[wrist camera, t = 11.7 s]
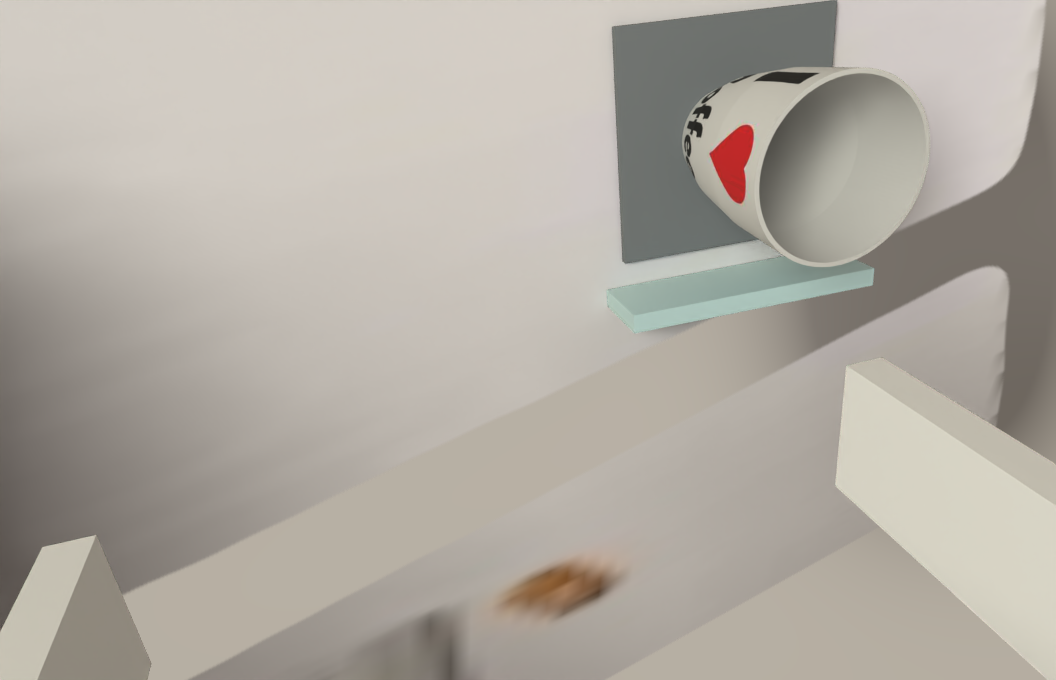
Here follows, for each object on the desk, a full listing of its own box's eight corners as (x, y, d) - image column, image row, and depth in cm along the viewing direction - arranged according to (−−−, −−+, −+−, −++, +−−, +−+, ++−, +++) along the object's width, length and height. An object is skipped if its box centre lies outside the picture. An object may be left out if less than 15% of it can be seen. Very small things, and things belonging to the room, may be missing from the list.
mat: (622, 261, 42) (625, 263, 41) (612, 26, 37) (615, 27, 36) (816, 225, 44) (820, 227, 44) (832, 0, 39) (837, 0, 38)
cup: (716, 21, 37) (841, 24, 28) (823, 109, 41) (965, 137, 32) (625, 164, 39) (716, 209, 30) (735, 237, 42) (846, 298, 33)
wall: (607, 306, 42) (634, 333, 39) (606, 289, 42) (633, 315, 39) (828, 263, 45) (872, 285, 42) (830, 247, 45) (874, 268, 41)
